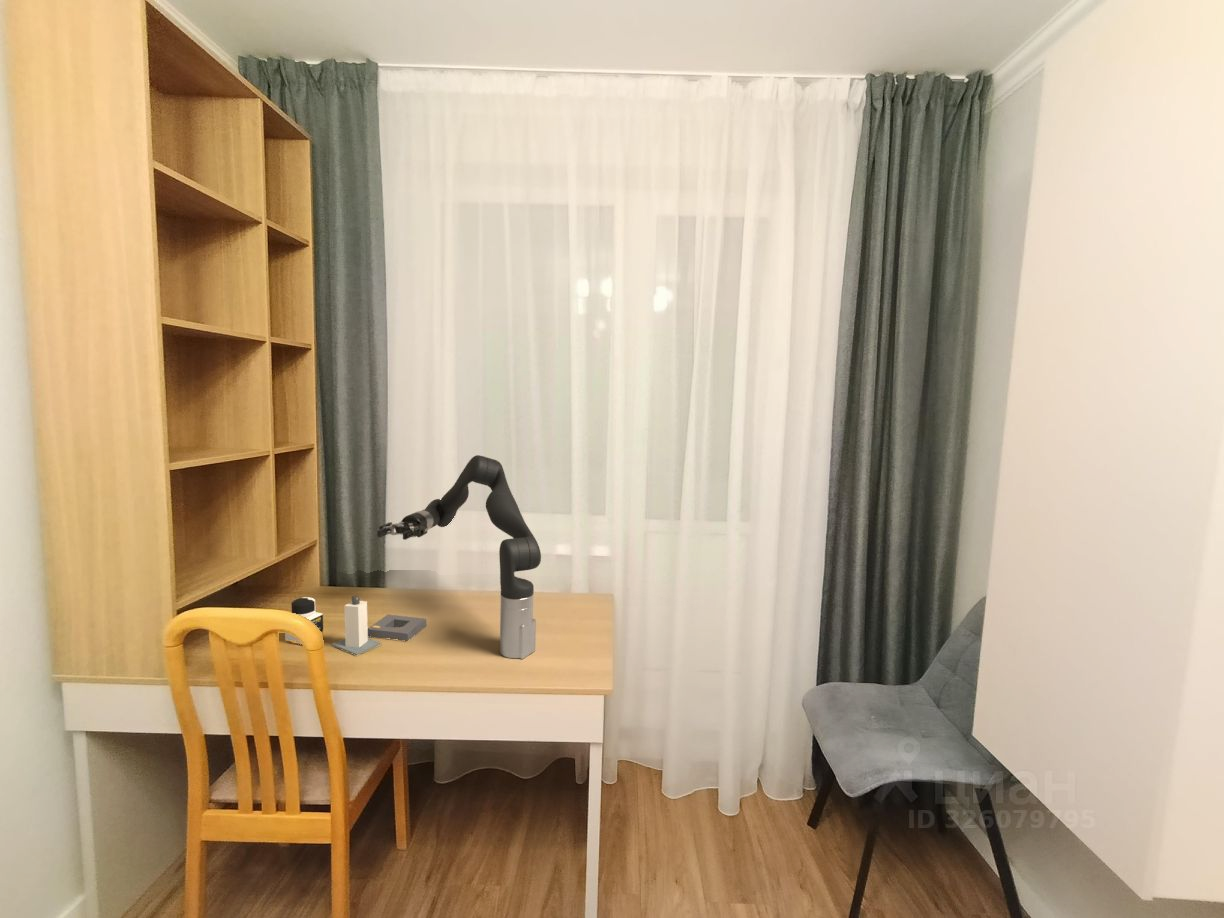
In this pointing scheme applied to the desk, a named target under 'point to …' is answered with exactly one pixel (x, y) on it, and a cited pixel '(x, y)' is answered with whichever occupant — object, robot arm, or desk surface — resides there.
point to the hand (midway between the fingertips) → (391, 535)
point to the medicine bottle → (306, 613)
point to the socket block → (387, 630)
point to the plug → (356, 622)
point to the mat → (356, 650)
